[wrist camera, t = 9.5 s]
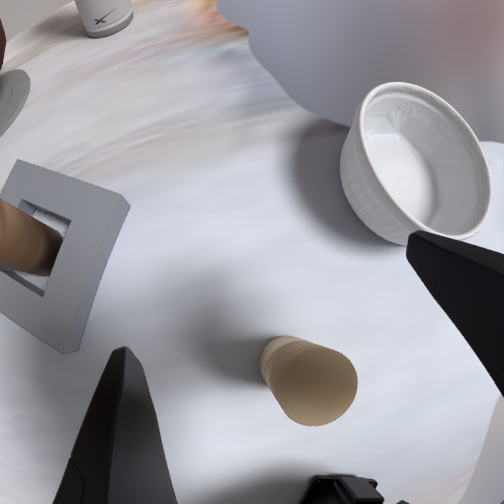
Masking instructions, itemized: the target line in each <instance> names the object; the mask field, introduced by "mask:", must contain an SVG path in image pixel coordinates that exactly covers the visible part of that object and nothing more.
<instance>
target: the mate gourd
mask: <svg viewBox="0 0 504 504" xmlns="http://www.w3.org/2000/svg"><path fill="white" fill-rule="evenodd" d="M5 47H6V37H5V32H4V29H3V26H2V23H1V20H0V70H1V67H2V64H3V59H4V52H5ZM30 86H31V84H30V78H29V76H28V75H27V73H26V72H25V71H23V70H19V69H18V70H12V71H9V72H6V73H4V74H2V75H1V76H0V137H1V136H2V135H3V134H4V133H5V131H6V130H7V129H8V128H9V127H10V125H11V124H12V123H13V121H14V120H15V119H16V117H17V116H18V114H19V113H20V111H21V109H22V108H23V106H24V104H25V102H26V100H27V97H28V94H29V91H30Z"/></svg>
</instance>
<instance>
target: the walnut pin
mask: <svg viewBox="0 0 504 504" xmlns="http://www.w3.org/2000/svg"><path fill="white" fill-rule="evenodd" d="M63 240H64V239H63V237H62V236H61V234H60V233H59V232H58V231H56V230H55V229H53V228H51V227H49V226H47V225H46V224H44V223H42V222H40V221H38V220H37V219H35V218H33V217H31V216H30V215H28V214H26V213H25V212H23V211H21V210H19V209H18V208H16V207H14V206H13V205H11V204H9V203H8V202H6V201H4V200H3V199H1V198H0V265H1V266H5V267H9V268H12V269H16V270H20V271H24V272H28V273H32V274H36V275H40V276H50V275H51V272H52V269H53V266H54V264H55V261H56V258H57V255H58V253H59V250H60V247H61V245H62V242H63Z"/></svg>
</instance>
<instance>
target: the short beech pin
mask: <svg viewBox="0 0 504 504" xmlns="http://www.w3.org/2000/svg"><path fill="white" fill-rule="evenodd" d="M259 370H260V373H261V375H262V377H263V379H264V380H265V382H266V384H267V385H268V387H269V388H270V390H271V392H272V393H273V395H274V396H275V398H276V400H277V401H278V403H279V404H280V406H281V408H282V409H283V411H284V412H285V414H286V415H287V416H288V417H289V418H290V419H292V420H293V421H295V422H297V423H299V424H302V425H305V426H321V425H325V424H328V423H330V422H332V421H334V420H336V419H337V418H339V417H340V416H341V415H343V414H344V413H345V412H346V411H347V409H348V408H349V407H350V405H351V404H352V402H353V400H354V398H355V395H356V391H357V383H358V381H357V374H356V371H355V368H354V366H353V364H352V363H351V362H350V360H349V359H348V358H347V357H346V356H344V355H343V354H341V353H339V352H337V351H335V350H332V349H329V348H326V347H323V346H320V345H317V344H314V343H311V342H308V341H305V340H302V339H299V338H296V337H293V336H281V337H278V338H275V339H273V340H271V341H270V342H269V343H268V344H267V345H266V346H265V347H264V348H263V350H262V351H261V354H260V357H259Z"/></svg>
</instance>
